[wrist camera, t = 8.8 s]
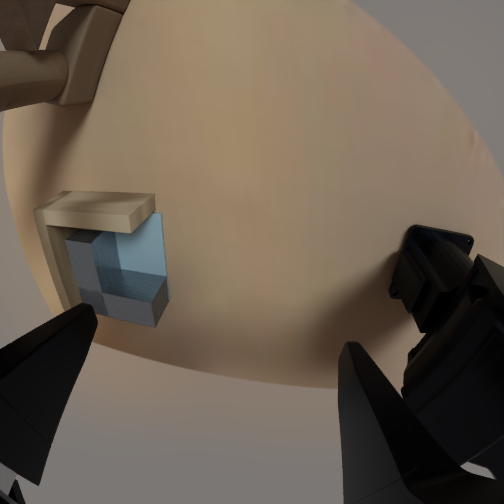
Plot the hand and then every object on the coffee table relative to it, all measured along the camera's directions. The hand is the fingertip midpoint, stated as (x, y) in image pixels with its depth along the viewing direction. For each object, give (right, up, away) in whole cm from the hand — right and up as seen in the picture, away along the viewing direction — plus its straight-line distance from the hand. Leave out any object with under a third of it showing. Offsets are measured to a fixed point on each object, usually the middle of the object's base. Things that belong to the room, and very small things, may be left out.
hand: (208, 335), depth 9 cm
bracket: (-9, +2, +14) cm, 17 cm away
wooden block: (-10, +19, +5) cm, 21 cm away
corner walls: (-10, +3, +13) cm, 17 cm away
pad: (-10, +3, +14) cm, 17 cm away
